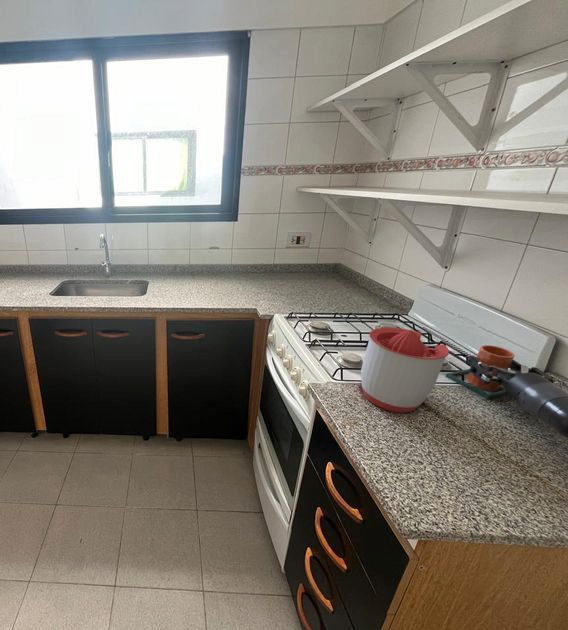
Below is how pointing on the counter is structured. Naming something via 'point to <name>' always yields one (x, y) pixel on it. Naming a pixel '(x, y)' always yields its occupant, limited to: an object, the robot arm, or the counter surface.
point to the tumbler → (491, 357)
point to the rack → (472, 388)
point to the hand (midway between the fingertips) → (488, 359)
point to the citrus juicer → (399, 369)
